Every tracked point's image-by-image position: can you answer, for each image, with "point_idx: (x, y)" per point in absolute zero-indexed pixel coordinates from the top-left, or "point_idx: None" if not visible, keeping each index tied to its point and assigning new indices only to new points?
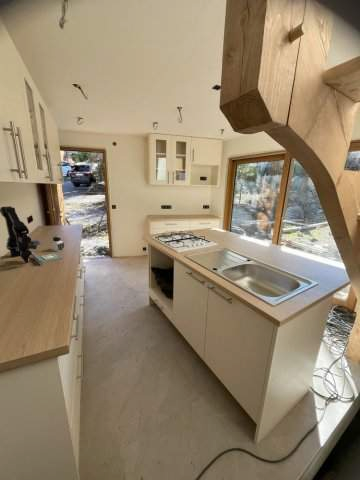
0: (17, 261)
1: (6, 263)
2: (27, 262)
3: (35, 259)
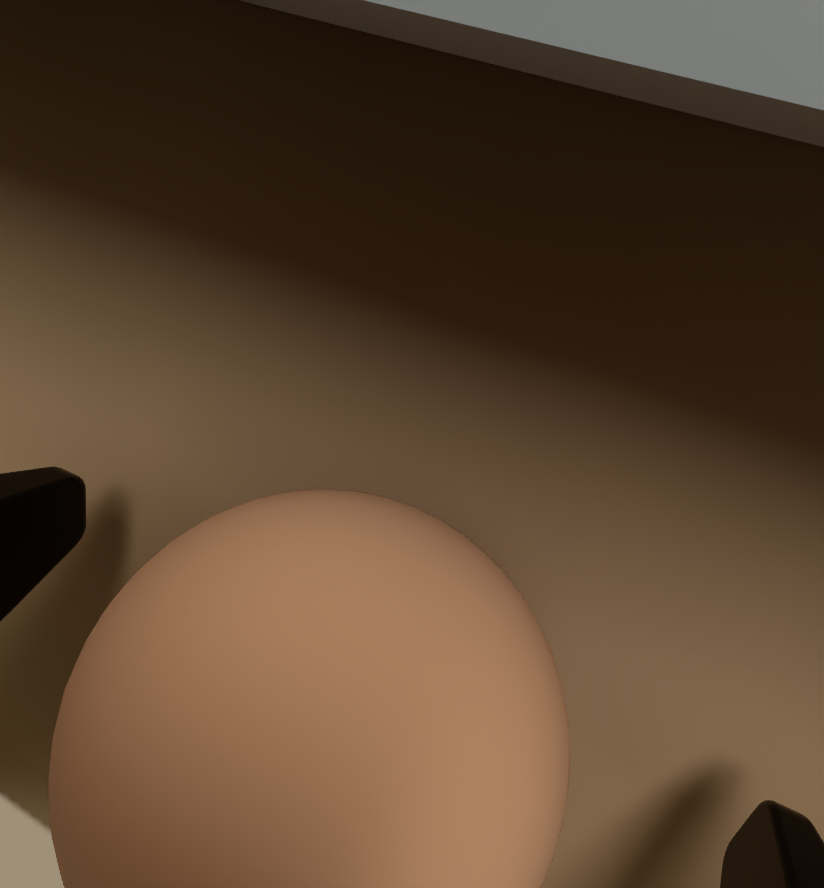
0: (47, 596)
1: (44, 799)
2: (820, 863)
3: (676, 103)
